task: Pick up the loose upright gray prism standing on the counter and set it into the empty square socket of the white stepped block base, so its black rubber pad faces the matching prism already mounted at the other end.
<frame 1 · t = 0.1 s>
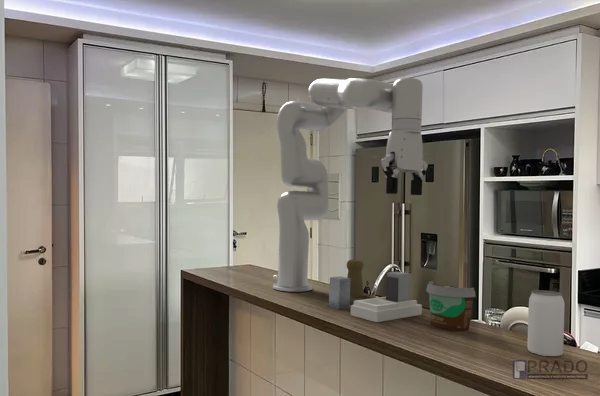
hand: (404, 194, 136), 31 cm above the counter, fingers open, 9 cm apart
food container: (443, 328, 124), on the counter
can: (544, 353, 106), on the counter
upright gray prism: (339, 307, 144), on the counter
cork: (354, 296, 163), on the counter
white stepped block base: (386, 314, 136), on the counter
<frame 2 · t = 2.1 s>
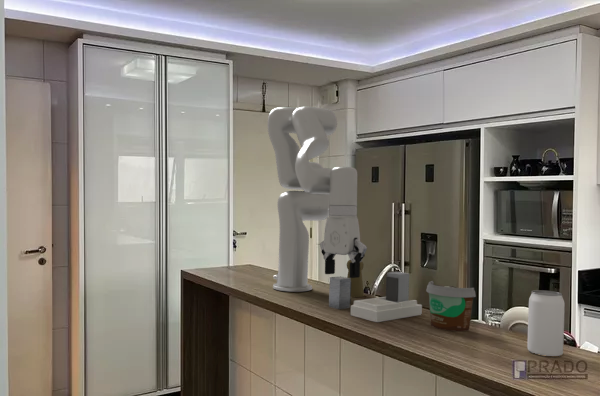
hand: (341, 275, 144), 9 cm above the counter, fingers open, 9 cm apart
nothing on the counter moved.
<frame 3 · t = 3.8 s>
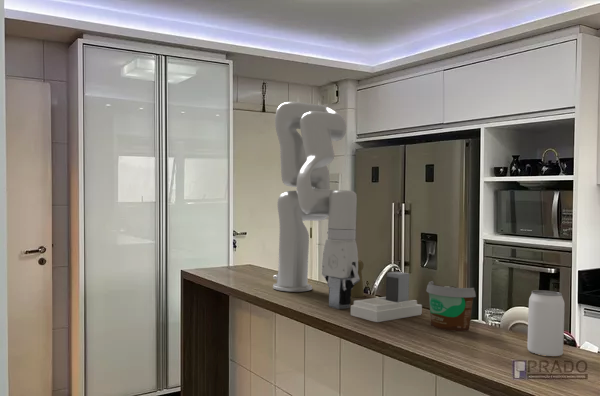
hand: (339, 302, 144), 1 cm above the counter, fingers closed on upright gray prism, 4 cm apart
upright gray prism: (339, 307, 144), on the counter, touching gripper
everything else where it was.
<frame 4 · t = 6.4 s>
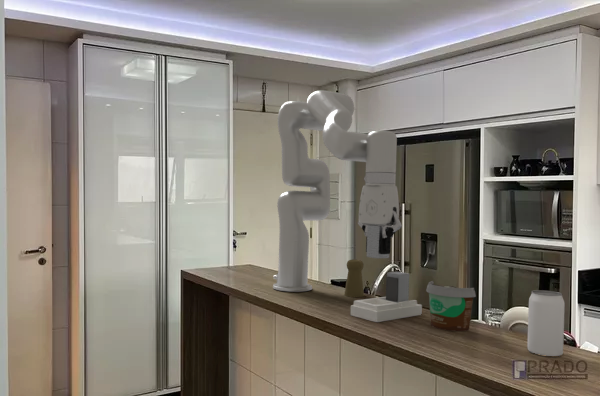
hand: (378, 252, 134), 16 cm above the counter, fingers closed on upright gray prism, 4 cm apart
upright gray prism: (377, 257, 134), point 15 cm above the counter, touching gripper
everything else where it was.
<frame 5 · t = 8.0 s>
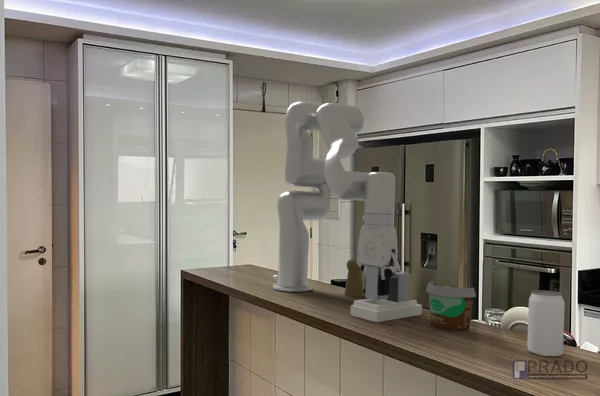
hand: (376, 292, 134), 6 cm above the counter, fingers closed on upright gray prism, 4 cm apart
upright gray prism: (376, 298, 134), point 5 cm above the counter, touching gripper
everything else where it was.
when the fingers open (4 cm above the counter, at t = 9.1 s): upright gray prism stays where it is, resting on white stepped block base.
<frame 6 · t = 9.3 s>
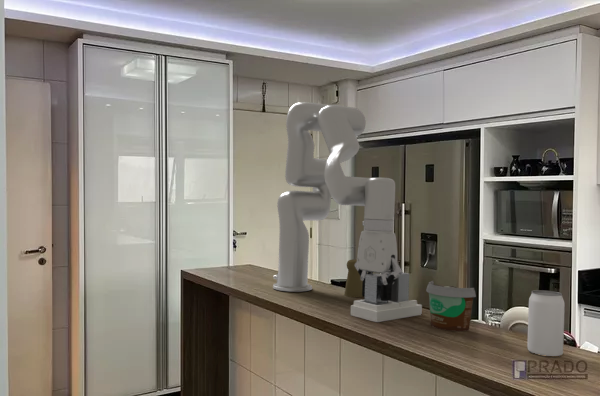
hand: (376, 297, 134), 5 cm above the counter, fingers open, 5 cm apart
upright gray prism: (375, 306, 134), point 2 cm above the counter, touching white stepped block base
everything else where it was.
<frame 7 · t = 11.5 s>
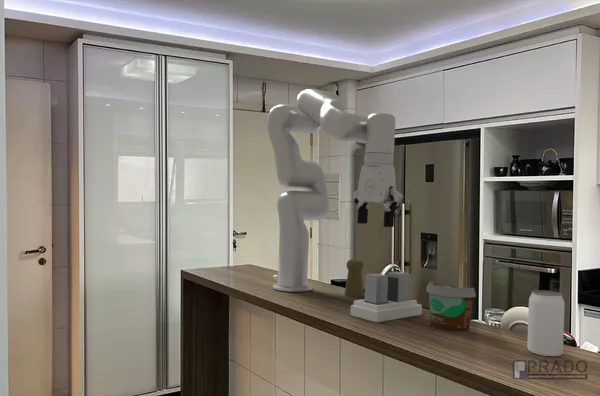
hand: (375, 225, 141), 23 cm above the counter, fingers open, 9 cm apart
nothing on the counter moved.
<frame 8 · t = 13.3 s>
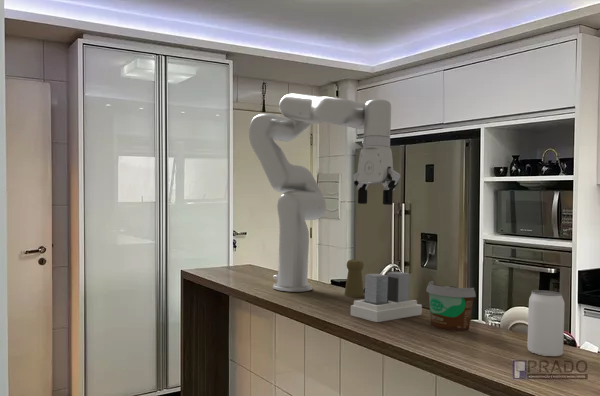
hand: (374, 204, 151), 28 cm above the counter, fingers open, 9 cm apart
nothing on the counter moved.
at the end: upright gray prism 0.2 cm from the target spot on the white stepped block base, point 2.5 cm above the white stepped block base's base; upright gray prism tilted 0°; the gripper is holding nothing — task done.
